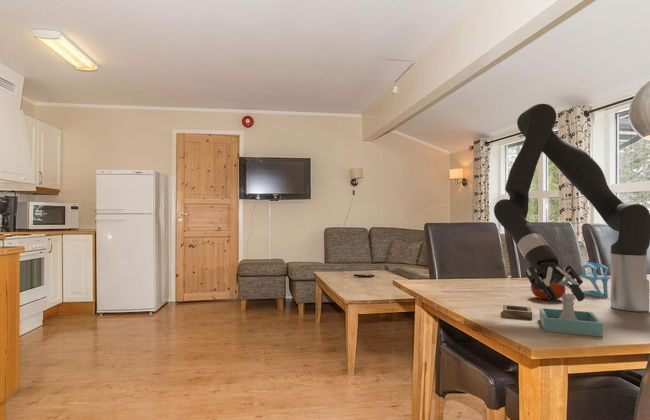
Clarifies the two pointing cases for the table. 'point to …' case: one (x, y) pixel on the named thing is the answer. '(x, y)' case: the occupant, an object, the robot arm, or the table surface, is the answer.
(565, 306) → the rook chess piece
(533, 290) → the fruit
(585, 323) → the tray
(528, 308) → the socket collar
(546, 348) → the table surface
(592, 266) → the chair
